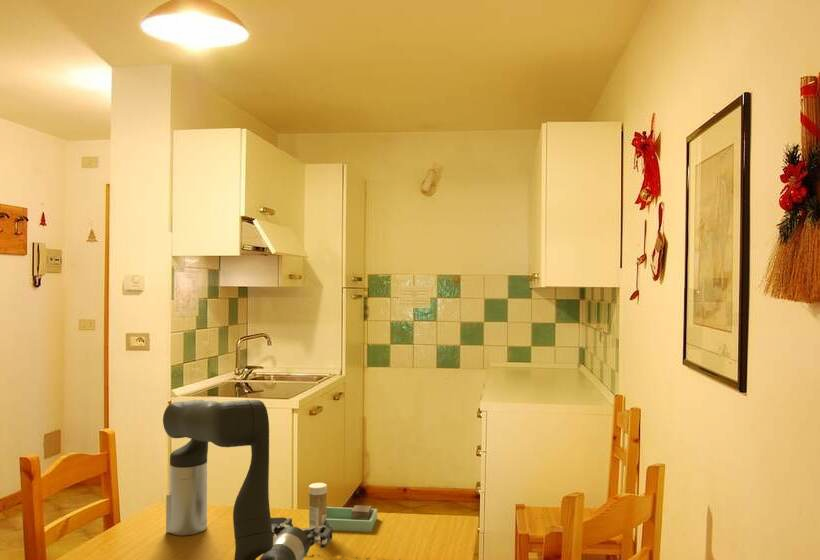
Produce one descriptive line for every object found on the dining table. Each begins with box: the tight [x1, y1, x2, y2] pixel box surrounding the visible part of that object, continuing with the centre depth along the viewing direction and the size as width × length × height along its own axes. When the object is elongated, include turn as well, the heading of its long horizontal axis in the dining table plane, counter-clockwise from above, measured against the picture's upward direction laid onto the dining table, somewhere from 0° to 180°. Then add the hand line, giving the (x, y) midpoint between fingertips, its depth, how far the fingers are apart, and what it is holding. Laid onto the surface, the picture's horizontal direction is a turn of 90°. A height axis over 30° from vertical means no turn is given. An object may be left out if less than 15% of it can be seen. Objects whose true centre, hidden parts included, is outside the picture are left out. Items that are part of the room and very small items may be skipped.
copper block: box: [351, 504, 372, 520], centre depth 167 cm, size 4×4×4 cm
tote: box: [326, 506, 378, 533], centre depth 167 cm, size 15×9×3 cm, turn 84°
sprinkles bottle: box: [308, 482, 328, 535], centre depth 158 cm, size 5×5×14 cm
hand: (307, 523), depth 149 cm, fingers open, 8 cm apart
